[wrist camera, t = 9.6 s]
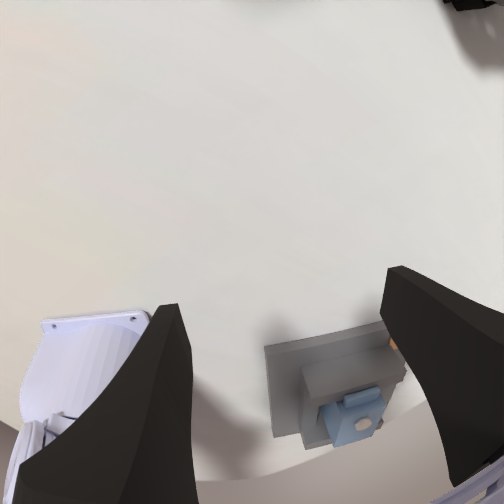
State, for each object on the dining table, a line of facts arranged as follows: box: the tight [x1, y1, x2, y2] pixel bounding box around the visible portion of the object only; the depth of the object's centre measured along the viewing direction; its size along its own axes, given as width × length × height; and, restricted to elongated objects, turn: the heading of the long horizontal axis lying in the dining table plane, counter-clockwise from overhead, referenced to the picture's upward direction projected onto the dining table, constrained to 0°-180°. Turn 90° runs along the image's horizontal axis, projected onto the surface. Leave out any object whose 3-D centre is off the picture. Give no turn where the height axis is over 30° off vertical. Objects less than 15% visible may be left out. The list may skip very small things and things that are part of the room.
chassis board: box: [264, 321, 407, 450], centre depth 26 cm, size 14×15×4 cm
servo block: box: [320, 386, 387, 448], centre depth 25 cm, size 4×8×6 cm, turn 6°
